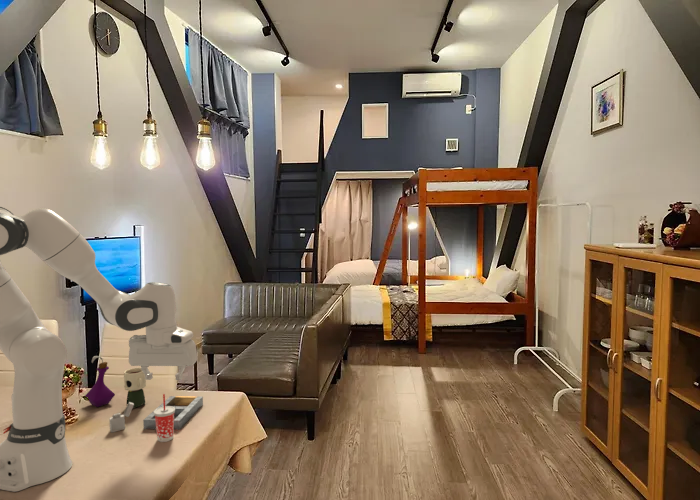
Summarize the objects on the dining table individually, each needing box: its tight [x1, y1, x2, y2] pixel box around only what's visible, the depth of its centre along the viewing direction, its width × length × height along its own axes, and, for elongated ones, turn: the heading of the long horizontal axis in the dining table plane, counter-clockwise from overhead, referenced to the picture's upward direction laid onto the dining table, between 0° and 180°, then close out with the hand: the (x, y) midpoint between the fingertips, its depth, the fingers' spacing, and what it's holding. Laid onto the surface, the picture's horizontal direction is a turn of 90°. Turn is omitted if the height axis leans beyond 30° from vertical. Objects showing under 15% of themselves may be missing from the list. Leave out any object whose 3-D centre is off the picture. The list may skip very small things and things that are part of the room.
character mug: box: [123, 367, 147, 409], centre depth 169 cm, size 11×7×13 cm, turn 45°
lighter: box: [109, 402, 134, 434], centre depth 151 cm, size 7×2×8 cm, turn 128°
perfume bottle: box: [84, 355, 116, 408], centre depth 170 cm, size 8×8×18 cm
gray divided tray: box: [142, 395, 204, 430], centre depth 160 cm, size 12×20×3 cm, turn 177°
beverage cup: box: [153, 393, 175, 443], centre depth 144 cm, size 6×6×14 cm
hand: (164, 379), depth 143 cm, fingers open, 8 cm apart
